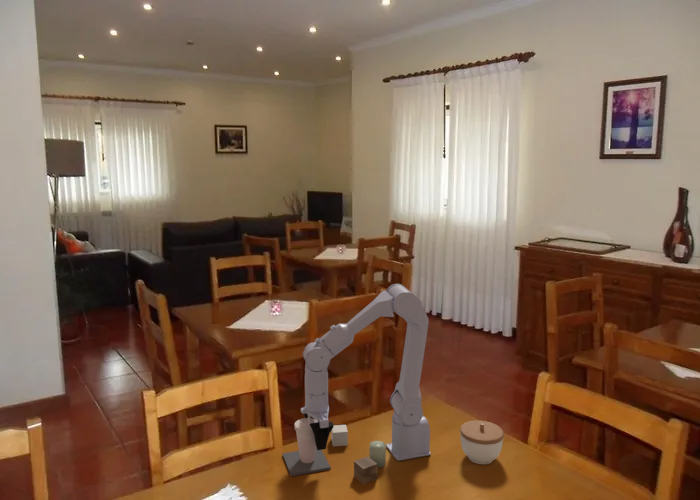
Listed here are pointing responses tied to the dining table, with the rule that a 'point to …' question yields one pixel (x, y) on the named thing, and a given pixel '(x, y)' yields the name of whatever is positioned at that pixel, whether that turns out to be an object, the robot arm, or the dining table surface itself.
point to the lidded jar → (481, 441)
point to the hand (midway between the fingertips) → (317, 441)
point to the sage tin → (378, 453)
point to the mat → (303, 468)
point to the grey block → (339, 435)
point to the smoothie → (306, 439)
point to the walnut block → (365, 470)
